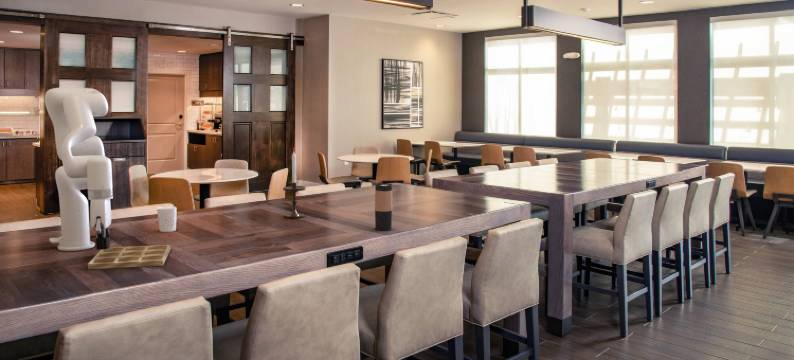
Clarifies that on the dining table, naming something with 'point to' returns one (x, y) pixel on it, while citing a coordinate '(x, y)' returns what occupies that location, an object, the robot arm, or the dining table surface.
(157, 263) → the board
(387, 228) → the travel mug
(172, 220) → the white cup
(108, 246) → the metal cylinder
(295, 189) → the candlestick
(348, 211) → the dining table surface
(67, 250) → the robot arm
